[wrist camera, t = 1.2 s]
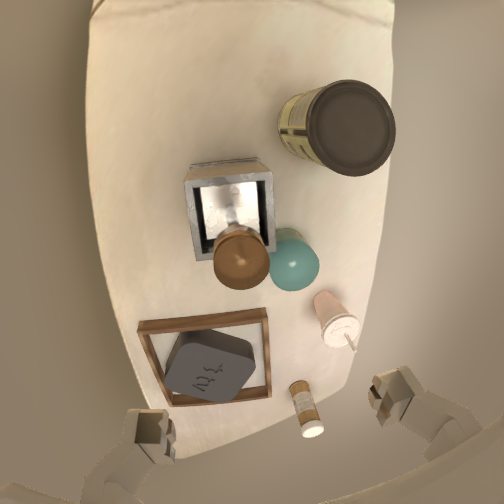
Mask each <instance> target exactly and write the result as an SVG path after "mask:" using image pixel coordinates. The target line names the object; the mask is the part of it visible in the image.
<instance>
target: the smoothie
mask: <svg viewBox="0 0 504 504" xmlns="http://www.w3.org/2000/svg"><path fill="white" fill-rule="evenodd" d="M313 302H314V306H315V309H316V313H317V316H318V319H319V323H320V326H321V330H322V334H321V336H322V339H323V340H324V342H325V344H326V345H328V346H330V347H342V346H345V345H347V344H348V343H349V344H350V346H351V348H352V350H353V351H354V353H356V352H357V349H356V347H355V346H354V344H353V342H352V340H354V339H355V337H356V336H357V335H358V333H359V330H360V323H359V321H358V319H357V318H356V316H354V315H353V314H350V313H349V312H348V311H347V310H346V309H345V308H344V307H343V305H342V304H341V303H340V302H339V301H338V300H337V299H336V298H335V297H334V296H333V295H332V294H331V293H330V292H328V291H322V292H320V293H318V294H317V295H316V296H315V298H314V301H313Z"/></svg>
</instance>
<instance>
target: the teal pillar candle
mask: <svg viewBox="0 0 504 504" xmlns="http://www.w3.org/2000/svg"><path fill="white" fill-rule="evenodd" d="M275 234H276V252H269V253H268V255H269V258H270V269H269V273H270V275H271V278H272V280H273V282H274V284H275V285H276V286H278V287H279V288H281V289H283V290H286V291H297V290H301V289H303V288H305V287H307V286H308V285H310V284H311V283H312V282H313V281H314V279H315V278H316V276H317V274H318V271H319V260H318V257H317V255H316V254H315V253H314V251H313V250H312V249H311V247H310V246H309V245H308V243H307V242H306V241H305V239H304V238H303V237H302V235H301V234H300V233H299V232H297V231H295V230H293V229H289V228H283V229H279V230H276V231H275Z"/></svg>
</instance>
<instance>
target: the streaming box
mask: <svg viewBox="0 0 504 504" xmlns="http://www.w3.org/2000/svg"><path fill="white" fill-rule="evenodd" d="M255 368H256V365H255V360H254V355H253V349H252V346H251V344H250V343H249V342H247V341H245V340H243V339H239V338H236V337H233V336H229V335H226V334H223V333H220V332H217V331H213V330H210V329H204V330H194V331H184V332H180V334H179V336H178V338H177V341H176V343H175V345H174V347H173V349H172V351H171V354H170V356H169V358H168V360H167V363H166V370H165V378H164V384H165V386H166V387H167V388H168V389H170V390H171V391H174V392H177V393H181V394H185V395H188V396H192V397H196V398H200V399H204V400H209V401H213V402H219V403H222V402H227V401H230V400H232V399H233V398H234V397H235V396H236V395H237V393H238V392H239V391H240V389H241V388H242V387H243V385H244V384H245V383H246V381H247V380H248V379H249V377H250V376H251V375H252V373H253V372H254V370H255Z"/></svg>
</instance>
